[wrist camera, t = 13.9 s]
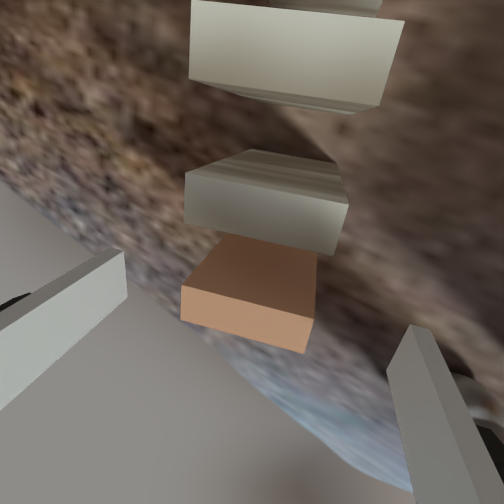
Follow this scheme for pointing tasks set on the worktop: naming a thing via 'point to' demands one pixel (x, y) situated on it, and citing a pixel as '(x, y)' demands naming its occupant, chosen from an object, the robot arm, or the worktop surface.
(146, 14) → the worktop surface
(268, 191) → the domino
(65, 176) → the worktop surface
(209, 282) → the domino end
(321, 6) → the domino
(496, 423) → the plastic bottle
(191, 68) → the domino
